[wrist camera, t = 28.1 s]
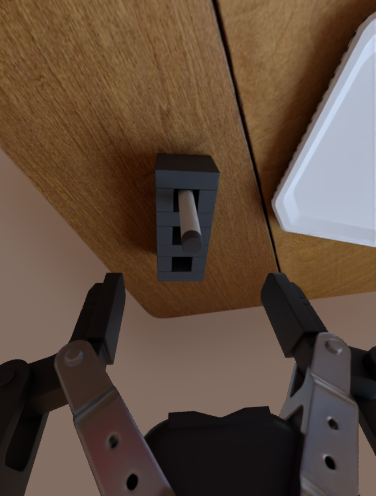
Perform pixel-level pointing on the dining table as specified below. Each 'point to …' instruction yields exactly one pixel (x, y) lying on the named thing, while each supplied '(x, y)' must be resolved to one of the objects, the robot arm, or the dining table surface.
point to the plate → (337, 154)
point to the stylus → (189, 223)
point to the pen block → (168, 217)
